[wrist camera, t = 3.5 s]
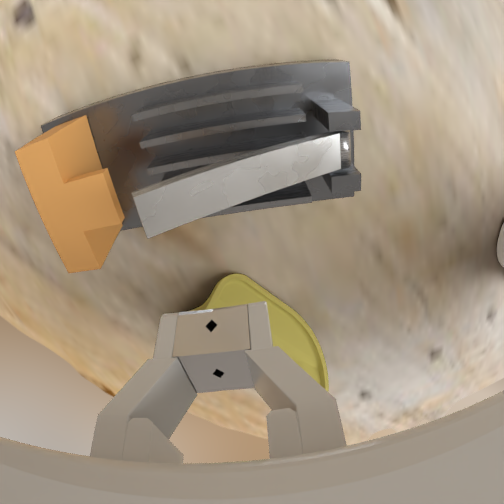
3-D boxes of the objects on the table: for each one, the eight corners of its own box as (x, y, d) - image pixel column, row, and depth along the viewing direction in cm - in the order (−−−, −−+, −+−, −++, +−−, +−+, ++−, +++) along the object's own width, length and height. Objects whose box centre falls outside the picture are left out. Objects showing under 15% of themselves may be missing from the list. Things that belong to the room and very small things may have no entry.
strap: (341, 127, 20) (354, 131, 19) (342, 160, 21) (354, 165, 20) (130, 191, 15) (134, 199, 15) (144, 230, 17) (148, 240, 16)
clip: (120, 103, 20) (87, 123, 15) (154, 219, 26) (137, 263, 21) (55, 126, 20) (14, 151, 16) (93, 231, 26) (68, 273, 22)
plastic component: (162, 337, 36) (201, 326, 29) (186, 286, 40) (229, 263, 33) (281, 399, 43) (335, 400, 36) (294, 355, 47) (347, 347, 40)
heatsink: (337, 59, 22) (373, 66, 15) (343, 181, 28) (372, 224, 22) (57, 116, 23) (10, 144, 17) (94, 220, 29) (64, 268, 23)
